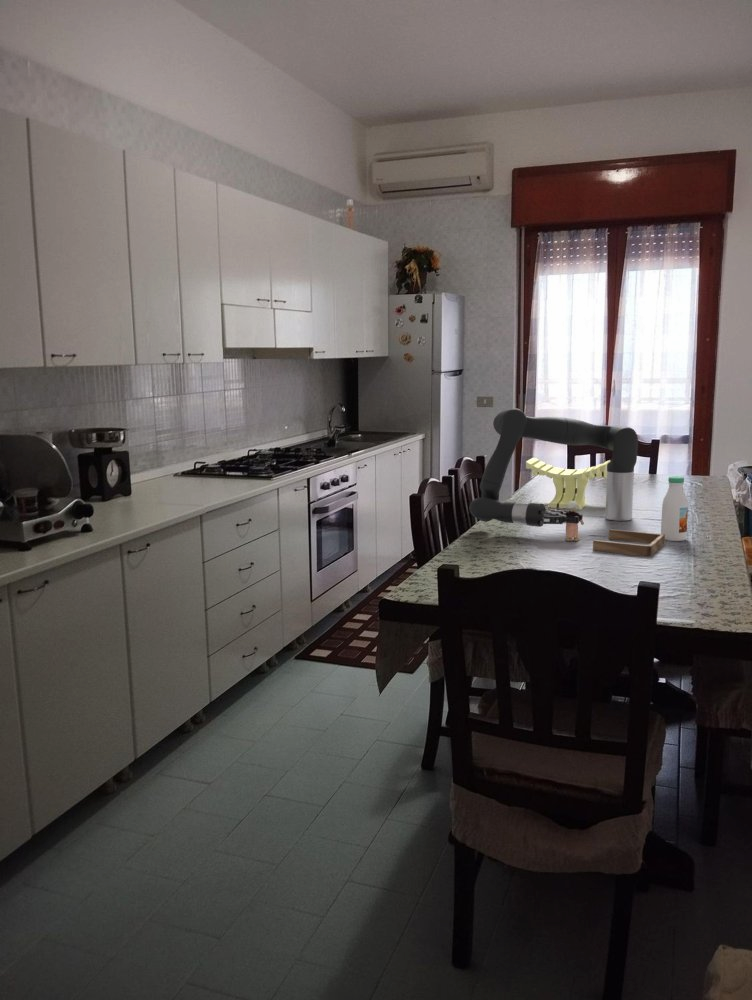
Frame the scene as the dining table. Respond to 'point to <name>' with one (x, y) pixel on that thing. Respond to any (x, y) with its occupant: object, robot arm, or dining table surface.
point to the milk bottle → (675, 511)
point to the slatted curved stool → (567, 481)
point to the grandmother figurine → (572, 527)
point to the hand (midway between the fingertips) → (580, 519)
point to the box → (634, 549)
